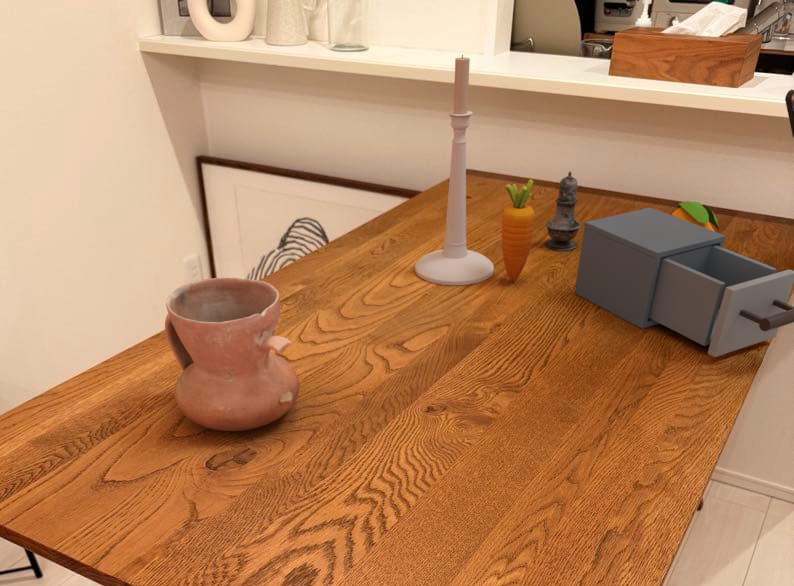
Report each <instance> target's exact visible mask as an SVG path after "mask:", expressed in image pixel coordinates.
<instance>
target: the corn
mask: <svg viewBox="0 0 794 586" xmlns="http://www.w3.org/2000/svg"><path fill="white" fill-rule="evenodd" d="M671 215H672V216H674V217H677V218H680V219H682V220H685V221H688V222H690V223H693V224H696V225H698V226H701V227H704V228H707V229H709V230H712V231H715V229H714V227H715V228H716V230H717V232H719V231H720V229H719V221H718V218H717V216H716V214H715V213H714V212H713V210H712V209H711V208H710V207H709V206H708V205H706V204H702V203H700V202H698V201H691V200H685V201H683V202H679V203H678V204H677V209H675V210H674V211H673V212H672V213H671ZM712 225H713V226H714V227H713V226H712Z"/></svg>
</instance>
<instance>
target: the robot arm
mask: <svg viewBox="0 0 794 586" xmlns="http://www.w3.org/2000/svg"><path fill="white" fill-rule="evenodd" d="M784 101H785V105H786V106H785V107H786V111H787V115H788V121H789V124H790V130H791V134H792V138H793V139H794V89H790V90H788V91H787V93H786V95H785V98H784Z"/></svg>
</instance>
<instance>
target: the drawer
mask: <svg viewBox="0 0 794 586" xmlns="http://www.w3.org/2000/svg"><path fill="white" fill-rule="evenodd" d="M776 271H777V268H776V267H773V266H771V265H769V264H766V263H764V262H761V261H759V260H755V259H753V258H750V257H748V256H745V255H742V254H740V253H738V252H735V251H733V250H729V249H727V248H725V247H723V248H722V247H720V246H717V245H714V244H713V245H709V246H705V247H701V248H697V249H693V250H689V251H685V252H681V253H677V254H673V255H669V256H666V257H662V258H661V260H660V264H659V269H658V274H657V278H656V283H655V288H654V292H653V297H652V302H651V306H650V311H649V316H648V318H650V319H652V320H654V321H656V322H658V323H660V324H659V325H662V326H664V327H666V328H668V329H670V330H672V331H674V332H676V333H678V334H679V335H682V336H684V337H686V338H688V339H690V340H691V341H693V342H695V343H697V344H700V345H702V346H704V347H707V346H708V345H709V346H708V351H707V354H708V355H709V356H711V357H714V358H716V357H719V356H722V355H725V354H728V353H731V352H735V351H738V350H740V349H743V348H746V347H750V346H753V345H755V344H759V343H762V342H764V341H768V340H771V339H774V338H776V337H777V334H778V331H779V328H781V327H784V326H787V325H790V324H793V323H794V306H793V305H791V304H789V303H788V301H789V298H790V295H791V292H792V289H793V286H794V270H792V269H786V270H783V271H779V272H776Z"/></svg>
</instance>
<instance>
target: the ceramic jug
mask: <svg viewBox="0 0 794 586" xmlns="http://www.w3.org/2000/svg"><path fill="white" fill-rule="evenodd" d="M165 306H166V311H167V315H166V317H165V321H164V333H165V337H166V341H167V343H168V346H169V348H170V350H171V352H172V354H173V355H174V357H175V359H176V361H177V362H178V364H179V366H180V368H181V369H182V372H181V374H180V375H179V376H178V378H177V380H176V383H175V385H174V390H173V391H174V392H173V397H174V401H175V403H176V405H177V407H178V409H179V411H180V412H181V413H182V415H184V417H185V418H187V419H188V420H190V421H191V422H193V423H194V424H195V425H198V426H201V427H204V428H205V429H210V430H214V431H222V432H243V431H249V430H253V429H259V428H262V427H264V426H266V425H269V424H271V423H274V422H275V421H277V420H279V419H280V418H282V417H283V416H284V415H286V414H287V413H288V412H289V411H290V410H291V409H292V408H293V407H294V405H295V403H296V401H297V399H298V396H299V393H300V379H299V376H298V373H297V370H295V368H294V367H293V366H292V365H291V364H290V363H289V362H287V360H285V359H283V358H282V357H280V356H278V355H283V354H284V352H285V351H286V349H287V348H288V347H290V346H291V345H292V342H291V341H290V340H289V339H288V338H287V337H284V336H281V335H275V330H276V328H277V326H278V323H279V320H280V319H279V318H280V311H281V297H280V292H279V291H278V289H277V288H276V287H275V286H274V285H272V284H271V283H268V282H266V281H264V280H258V279H251V278H240V277H214V278H212V277H211V278H203V279H200V280H195V281H194V282H188V283H186V284H182V285H181V286H179V287H177V288H176V289H175V290H174V291H173V292H171V293H170V294H169V295H168V297H167V298H166V305H165ZM271 350H273V351H274V352H276V354H274V353H271Z"/></svg>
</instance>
